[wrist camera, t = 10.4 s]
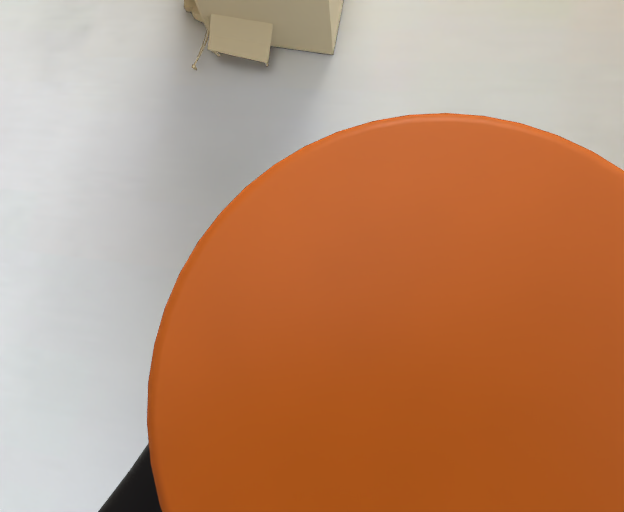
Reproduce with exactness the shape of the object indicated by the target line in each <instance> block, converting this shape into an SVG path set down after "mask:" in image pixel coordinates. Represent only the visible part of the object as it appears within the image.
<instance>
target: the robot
mask: <svg viewBox="0 0 624 512" xmlns="http://www.w3.org/2000/svg"><path fill="white" fill-rule="evenodd" d="M342 6H343V0H184V8H185V10H186V12H192V15H193V17H194V19H196V20H198V21H200V22H203V23H204V25H205V27H206V29H207V31H208V33H207V31H206V33H207V37H206V35H205V37H206V41H205V44H204V41H203V44H204V47H205V45H206V42H207V39H208V35H209V42H208V50H211V51H212V52H214V53H215V54H216V55H217V56H218V57H220V56H221V55H219V54H218V53H217V52H220V53H224V54H228V55H233V56H237V57H242V58H246V59H250V60H255V61H259V62H264V63H266V66H268V60H269V53H270V46H274V47H281V48H288V49H295V50H303V51H310V52H317V53H324V54H331V55H333V53H334V48H335V43H336V37H337V32H338V27H339V22H340V16H341V11H342ZM204 40H205V38H204ZM203 44H202V47H203ZM202 47H201V50H202V51H203V49H204V47H203V49H202ZM201 50H200V52H201V53H202V51H201ZM200 52H199V55H201V54H200ZM199 55H198V57H200V56H199ZM198 57H197V59H196V61H195V63H194V65H192V68H194V69H195V70H197V68H196V66H195V64H196V62H197V61H198V59H199V58H198Z"/></svg>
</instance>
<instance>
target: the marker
mask: <svg viewBox="0 0 624 512" xmlns="http://www.w3.org/2000/svg"><path fill="white" fill-rule="evenodd" d="M147 427H148V438H149V449H150V460H151V467H152V472H153V476H154V481H155V485H156V490H157V495H158V499H159V504H160V507H161V510H162V512H624V171H623V170H622V169H620V168H618V167H617V166H615V165H614V164H612V163H610V162H609V161H607V160H605V159H604V158H602V157H601V156H599V155H597V154H596V153H594V152H592V151H590V150H588V149H586V148H584V147H582V146H579V145H577V144H575V143H573V142H571V141H569V140H567V139H564V138H562V137H560V136H558V135H555V134H552V133H549V132H546V131H543V130H540V129H537V128H534V127H531V126H527V125H524V124H521V123H517V122H512V121H506V120H501V119H496V118H491V117H486V116H477V115H464V114H450V113H440V114H419V115H406V116H400V117H395V118H389V119H383V120H377V121H372V122H369V123H365V124H362V125H359V126H355V127H352V128H349V129H346V130H342V131H339V132H336V133H334V134H332V135H329V136H327V137H325V138H323V139H320V140H318V141H316V142H314V143H311V144H309V145H307V146H305V147H303V148H301V149H300V150H298V151H296V152H295V153H293V154H291V155H290V156H288V157H286V158H285V159H283V160H281V161H280V162H278V163H276V164H275V165H273V166H272V167H271V168H269V169H268V170H267V171H266V172H264V173H263V174H262V175H260V176H259V177H258V178H257V179H255V180H254V181H253V182H252V183H250V184H249V185H248V186H246V187H245V188H244V189H243V190H242V191H241V192H240V193H239V194H238V195H237V196H236V197H235V198H234V199H233V200H232V201H231V202H230V203H229V204H228V205H227V207H226V208H225V209H224V210H223V211H222V212H221V213H220V214H219V215H218V216H217V218H216V219H215V220H214V222H213V223H212V224H211V226H210V227H209V228H208V229H207V231H206V232H205V233H204V235H203V236H202V237H201V239H200V240H199V241H198V243H197V244H196V246H195V248H194V250H193V251H192V253H191V255H190V256H189V258H188V260H187V262H186V263H185V265H184V267H183V268H182V270H181V272H180V274H179V276H178V278H177V281H176V283H175V285H174V288H173V290H172V292H171V295H170V297H169V299H168V302H167V304H166V306H165V309H164V312H163V316H162V319H161V323H160V326H159V330H158V333H157V337H156V340H155V344H154V350H153V356H152V362H151V369H150V375H149V381H148V408H147Z"/></svg>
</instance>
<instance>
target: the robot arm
mask: <svg viewBox="0 0 624 512" xmlns="http://www.w3.org/2000/svg"><path fill="white" fill-rule="evenodd" d="M98 512H162V510H161V507H160V504H159V499H158V495H157V490H156V485H155V481H154V476H153V472H152V467H151V460H150V449H149V443H148V445H147V446H146V448H145V449H144V451H143V452H142V454H141V455H140V456H139V458H138V459H137V461H136V462H135V464H134V465H133V467H132V468H131V469H130V471H129V472H128V473H127V475H126V476H125V477H124V479H123V480H122V481H121V483H120V484H119V485H118V487H117V488H116V489H115V491H114V492H113V493H112V494H111V496H110V497H109V498H108V500H107V501H106V502H105V504H104V505H103V506H102V507H101V509H100V510H99V511H98Z"/></svg>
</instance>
